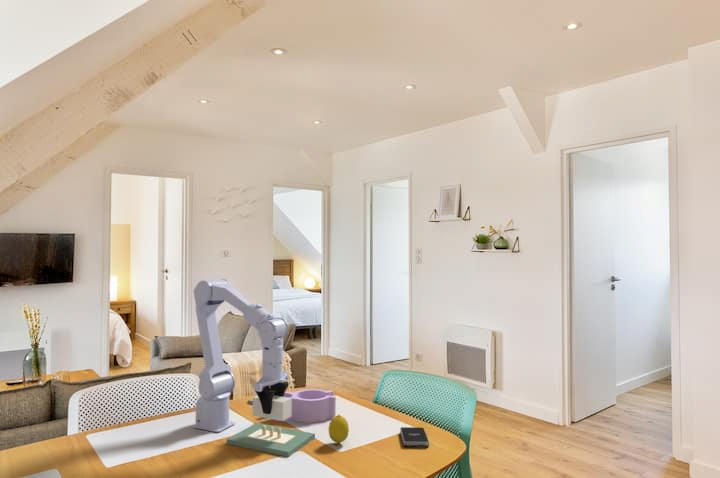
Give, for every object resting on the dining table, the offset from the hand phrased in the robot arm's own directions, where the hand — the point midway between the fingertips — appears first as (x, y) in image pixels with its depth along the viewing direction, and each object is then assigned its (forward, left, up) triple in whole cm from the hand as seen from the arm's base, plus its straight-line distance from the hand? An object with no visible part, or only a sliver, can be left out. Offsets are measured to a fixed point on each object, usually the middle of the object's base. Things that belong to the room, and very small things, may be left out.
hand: (271, 410), depth 138 cm
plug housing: (-1, 0, -1) cm, 2 cm away
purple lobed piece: (-2, +22, -9) cm, 23 cm away
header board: (0, 0, -8) cm, 8 cm away
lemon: (+18, +6, -9) cm, 21 cm away
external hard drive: (+36, +18, -9) cm, 41 cm away
